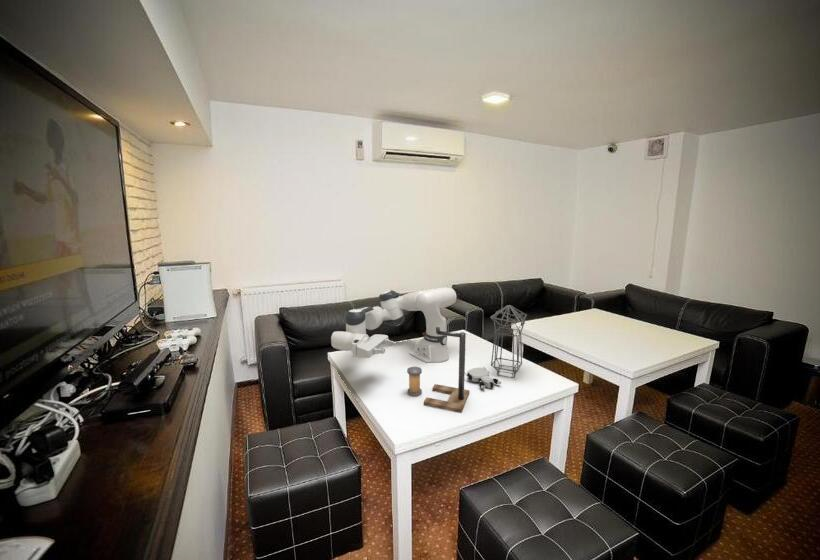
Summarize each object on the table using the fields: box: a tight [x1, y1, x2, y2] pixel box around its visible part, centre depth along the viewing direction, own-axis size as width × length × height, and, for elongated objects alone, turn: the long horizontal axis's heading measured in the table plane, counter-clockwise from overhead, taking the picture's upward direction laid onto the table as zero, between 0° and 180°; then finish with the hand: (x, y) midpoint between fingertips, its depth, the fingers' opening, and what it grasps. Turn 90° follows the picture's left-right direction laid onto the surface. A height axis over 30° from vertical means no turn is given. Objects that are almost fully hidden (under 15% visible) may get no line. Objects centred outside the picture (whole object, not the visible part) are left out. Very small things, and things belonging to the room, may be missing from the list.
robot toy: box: [465, 366, 502, 389], centre depth 158 cm, size 12×4×15 cm
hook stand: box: [436, 327, 467, 400], centre depth 140 cm, size 12×2×30 cm, turn 69°
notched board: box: [423, 383, 470, 414], centre depth 144 cm, size 16×16×2 cm
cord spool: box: [406, 366, 423, 397], centre depth 148 cm, size 6×6×11 cm
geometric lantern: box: [489, 304, 528, 379], centre depth 164 cm, size 16×16×35 cm
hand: (389, 347), depth 150 cm, fingers open, 8 cm apart
